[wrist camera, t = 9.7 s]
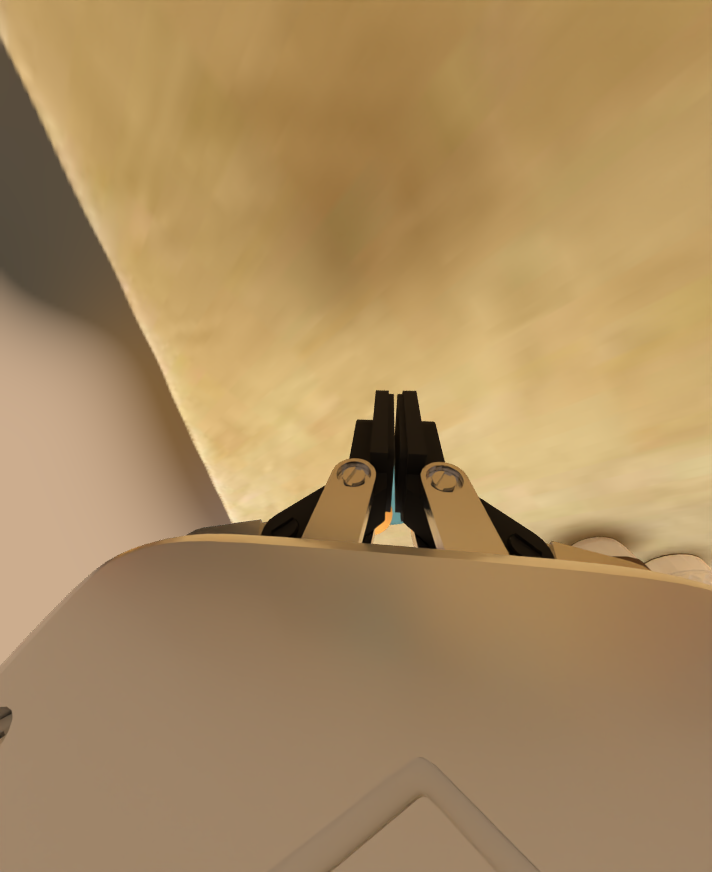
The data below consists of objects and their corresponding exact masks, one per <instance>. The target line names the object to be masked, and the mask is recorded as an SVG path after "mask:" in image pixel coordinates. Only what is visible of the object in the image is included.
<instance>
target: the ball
mask: <svg viewBox="0 0 712 872" xmlns="http://www.w3.org/2000/svg"><path fill="white" fill-rule="evenodd" d="M392 515H393V511H392V506H391V512H385V521H384V522H383V523H382V524H380V525H379V526H378V527H377V528H375V534H379V533H381V532H383V531H384V530H386V529H387V528H388V526H389V525H390V523H391V520H392Z"/></svg>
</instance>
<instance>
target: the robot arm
mask: <svg viewBox="0 0 712 872" xmlns="http://www.w3.org/2000/svg"><path fill="white" fill-rule="evenodd" d="M393 474H394V483H395V513H400V517H401V522H403V523H405V524H406V525H407V526H408V527H409V528H410V529H411V537H412V541H413V545H414V547H404V546H392V545H379V544H373V541H374V536H375V528H377V527H378V526H379V525H380V524H382V523H383V522H384V521H385V512H391V501H392V487H393ZM0 872H712V586H711V585H707V584H704V583H700V582H697V581H693V580H689V579H686V578H682V577H678V576H673V575H669V574H664V573H659V572H654V571H651V570H649V569H647V568H646V567H644V566H642V565H639V564H636V563H634V562H631V561H627V560H623V559H620V558H616V557H612V556H608V555H604V554H600V553H597V552H593V551H589V550H585V549H581V548H577V547H573V546H570V545H566V544H562V543H558V542H554V541H552V542H551V543H550V544H547V543H545V542H544V541H543V540H542V539H541V538H540V537H538V536H537V535H536V534H534V533H533V532H531V531H530V530H528V529H527V528H525V527H524V526H522V525H521V524H519V523H518V522H516V521H515V520H513V519H511V518H510V517H508V516H507V515H505V514H504V513H502V512H501V511H499V510H498V509H496V508H495V507H493V506H492V505H490V504H488V503H487V502H485V501H484V500H482V499H481V498H479V497H478V495H477V493H476V491H475V490H474V488H473V486H472V484H471V482H470V480H469V478H468V477H467V475H466V474H465V473H464V471H462V470H461V469H460V468H459V467H457V466H455V465H452V464H449V463H445V461H444V457H443V453H442V449H441V444H440V440H439V436H438V432H437V428H436V424H435V422H427V421H421V416H420V410H419V404H418V398H417V392H416V391H403V393H402V394H398V395H397V409H396V424H395V433H394V394H389V391H379V390H376V395H375V405H374V416H373V420H357V421H356V426H355V431H354V437H353V442H352V447H351V453H350V458H349V459H346V460H344V461H341V462H340V463H338V464H337V465H336V466H335V467H334V469H333V470H332V472H331V475H330V477H329V479H328V481H327V483H326V485H325V486H323V487H322V488H320V489H318V490H317V491H315V492H313V493H312V494H310V495H308V496H307V497H305V498H303V499H302V500H300V501H298V502H297V503H295V504H293V505H292V506H290V507H288V508H287V509H285V510H283V511H282V512H280V513H278V514H277V515H275V516H274V517H273V518H271V519H270V520H269V521H268V522H263V523H262V521H261V520H253V521H246V522H239V523H232V524H225V525H218V526H210V527H203V528H200V529H196V530H194V531H193V532H191V533H189V534H187V535H186V536H179V537H173V538H167V539H163V540H159V541H156V542H152V543H148V544H145V545H142V546H139V547H136V548H134V549H131V550H128V551H126V552H124V553H121V554H119V555H117V556H116V557H114V558H112V559H110V560H108V561H107V562H105V563H104V564H103V565H101V566H100V567H99V568H97V569H96V570H95V571H93V572H92V573H91V574H90V575H89V576H88V577H87V578H85V579H84V580H83V581H82V582H81V583H80V584H79V585H78V586H76V587H75V588H74V589H73V590H72V591H71V592H70V593H69V594H68V595H67V596H66V597H65V598H64V599H63V600H62V601H61V602H60V603H59V604H58V605H57V606H56V607H55V608H54V609H53V610H52V611H51V612H50V613H49V614H48V615H47V616H46V617H45V618H44V619H43V621H42V622H41V623H40V624H39V625H38V626H37V627H36V628H35V629H34V630H33V631H32V632H31V633H30V634H29V635H28V636H27V637H26V638H25V640H24V641H23V642H22V643H21V644H20V645H19V646H18V647H17V648H16V649H15V651H13V652H12V654H11V655H10V656H9V657H8V658H7V659H6V660H5V661H4V662H3V663H2V664H1V666H0Z"/></svg>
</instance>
